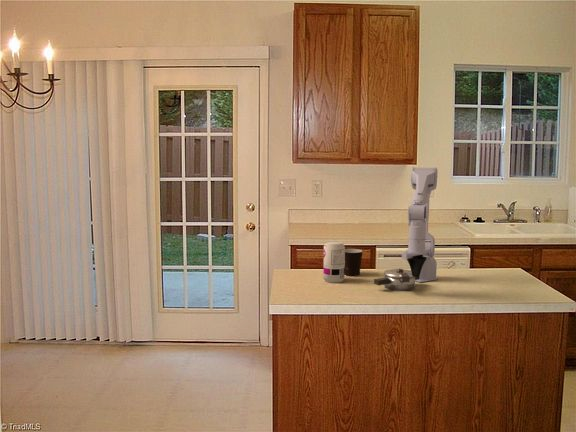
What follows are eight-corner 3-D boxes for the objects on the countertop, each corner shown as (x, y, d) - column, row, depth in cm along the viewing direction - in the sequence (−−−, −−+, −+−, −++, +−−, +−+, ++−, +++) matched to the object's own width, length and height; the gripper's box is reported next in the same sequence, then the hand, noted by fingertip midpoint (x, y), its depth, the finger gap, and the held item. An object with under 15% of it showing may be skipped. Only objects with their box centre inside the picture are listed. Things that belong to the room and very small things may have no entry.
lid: (381, 271, 203) (381, 266, 202) (412, 271, 203) (412, 266, 202) (389, 282, 186) (389, 276, 186) (422, 282, 186) (422, 276, 186)
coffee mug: (361, 277, 212) (362, 253, 211) (340, 276, 214) (340, 252, 213) (363, 271, 223) (363, 247, 222) (342, 270, 225) (343, 247, 224)
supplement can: (320, 282, 205) (320, 243, 203) (327, 277, 212) (327, 240, 211) (340, 284, 202) (341, 245, 200) (346, 279, 209) (347, 241, 208)
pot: (406, 281, 206) (406, 270, 206) (426, 287, 197) (427, 276, 196) (366, 287, 197) (367, 275, 196) (385, 294, 187) (386, 282, 187)
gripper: (419, 235, 194) (418, 271, 196) (395, 239, 185) (394, 277, 186) (436, 237, 189) (434, 274, 191) (412, 242, 179) (410, 281, 181)
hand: (415, 276), depth 188 cm, fingers closed
